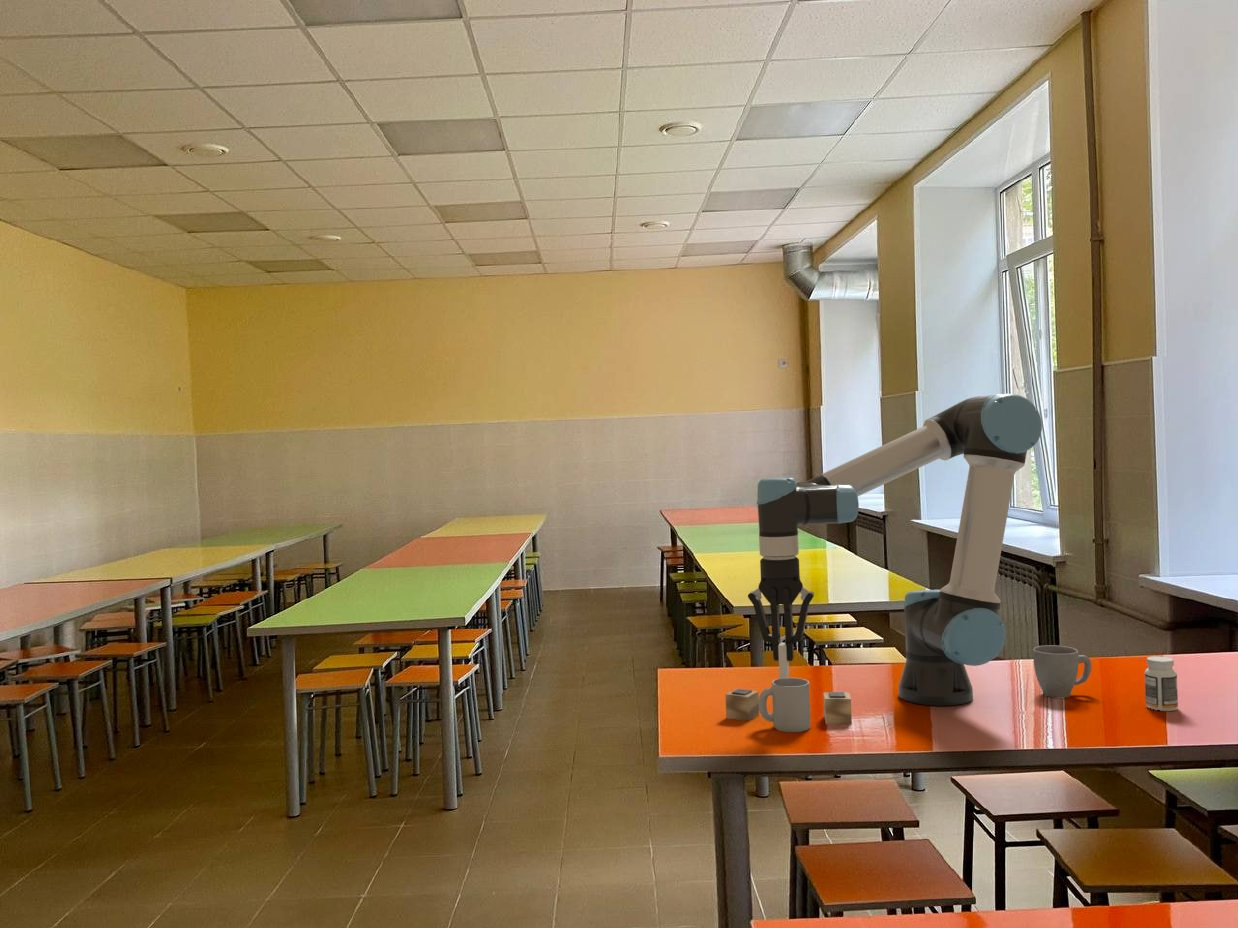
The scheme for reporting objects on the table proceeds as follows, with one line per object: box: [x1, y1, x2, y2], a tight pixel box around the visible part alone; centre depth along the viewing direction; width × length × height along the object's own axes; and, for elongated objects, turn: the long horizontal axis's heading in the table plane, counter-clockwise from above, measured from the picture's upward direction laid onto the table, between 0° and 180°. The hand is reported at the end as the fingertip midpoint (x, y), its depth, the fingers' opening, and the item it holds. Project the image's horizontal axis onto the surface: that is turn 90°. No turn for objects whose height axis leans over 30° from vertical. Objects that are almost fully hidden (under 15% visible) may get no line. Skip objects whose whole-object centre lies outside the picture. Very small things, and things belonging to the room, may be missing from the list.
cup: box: [758, 677, 811, 733], centre depth 193 cm, size 7×10×9 cm
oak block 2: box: [823, 691, 853, 725], centre depth 197 cm, size 5×5×5 cm
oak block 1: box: [725, 688, 760, 722], centre depth 202 cm, size 5×5×5 cm
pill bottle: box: [1144, 655, 1179, 712], centre depth 197 cm, size 6×6×10 cm
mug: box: [1032, 644, 1093, 699], centre depth 210 cm, size 12×9×10 cm
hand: (784, 677), depth 193 cm, fingers closed
